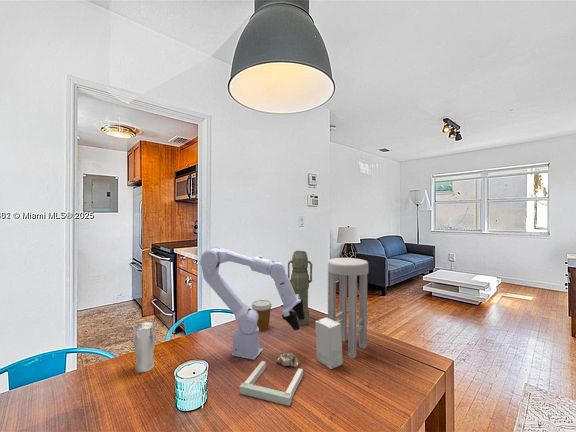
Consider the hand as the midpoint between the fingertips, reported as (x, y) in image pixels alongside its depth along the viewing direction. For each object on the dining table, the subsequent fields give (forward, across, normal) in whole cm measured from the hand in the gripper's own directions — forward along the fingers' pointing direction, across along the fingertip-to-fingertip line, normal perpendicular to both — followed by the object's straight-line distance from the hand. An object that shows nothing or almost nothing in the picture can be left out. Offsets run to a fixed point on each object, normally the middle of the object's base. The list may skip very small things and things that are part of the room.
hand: (299, 324), depth 108 cm
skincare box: (+14, -4, -7) cm, 17 cm away
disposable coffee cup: (+4, +14, +26) cm, 30 cm away
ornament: (+9, -9, +6) cm, 14 cm away
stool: (+18, +8, -11) cm, 23 cm away
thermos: (+11, +26, +12) cm, 31 cm away
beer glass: (-10, -28, +48) cm, 57 cm away
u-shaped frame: (+7, -22, +5) cm, 24 cm away
